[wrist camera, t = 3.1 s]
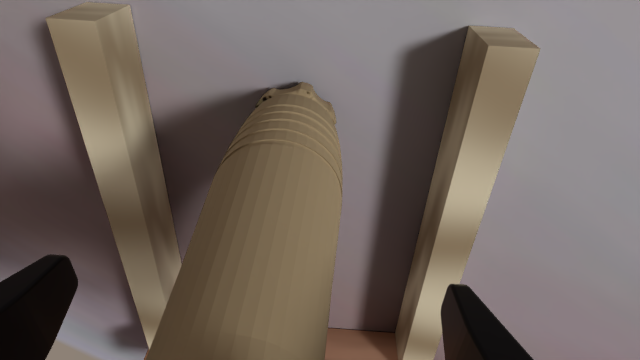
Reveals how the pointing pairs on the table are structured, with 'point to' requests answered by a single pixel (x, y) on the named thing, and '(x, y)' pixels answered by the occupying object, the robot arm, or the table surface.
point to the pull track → (152, 199)
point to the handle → (263, 241)
